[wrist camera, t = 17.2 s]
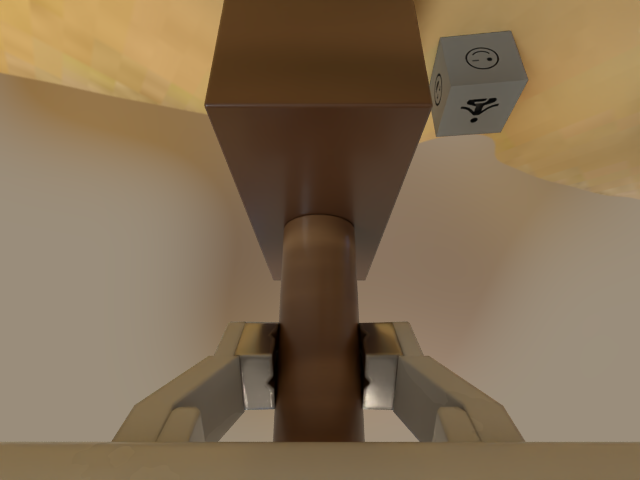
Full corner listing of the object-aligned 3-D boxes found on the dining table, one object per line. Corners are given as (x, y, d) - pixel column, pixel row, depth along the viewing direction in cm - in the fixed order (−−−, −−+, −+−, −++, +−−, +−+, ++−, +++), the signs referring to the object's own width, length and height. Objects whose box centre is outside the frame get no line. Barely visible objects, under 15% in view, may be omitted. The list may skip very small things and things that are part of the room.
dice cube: (510, 30, 25) (528, 79, 23) (487, 87, 29) (500, 132, 27) (440, 37, 25) (450, 86, 23) (428, 92, 30) (436, 136, 28)
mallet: (223, -5, 8) (67, 806, 3) (413, -5, 8) (567, 806, 3) (276, 217, 18) (260, 493, 13) (361, 217, 18) (378, 493, 13)
